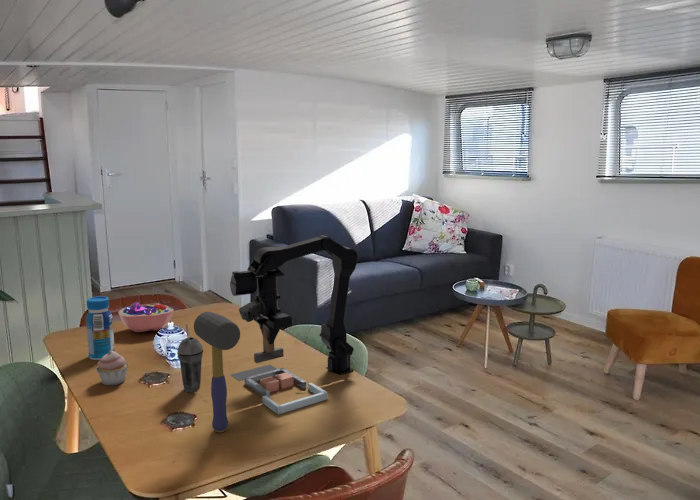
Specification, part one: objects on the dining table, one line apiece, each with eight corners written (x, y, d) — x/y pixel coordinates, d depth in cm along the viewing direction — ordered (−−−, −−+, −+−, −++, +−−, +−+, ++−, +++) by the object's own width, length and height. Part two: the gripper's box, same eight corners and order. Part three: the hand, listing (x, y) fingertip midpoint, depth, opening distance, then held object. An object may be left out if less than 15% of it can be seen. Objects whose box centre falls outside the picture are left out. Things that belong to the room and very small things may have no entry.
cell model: (166, 338, 216) (164, 308, 214) (111, 337, 216) (109, 308, 214) (179, 324, 233) (178, 296, 230) (129, 323, 233) (127, 295, 231)
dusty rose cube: (272, 387, 174) (271, 376, 173) (278, 392, 171) (278, 380, 170) (259, 390, 172) (259, 379, 171) (266, 395, 169) (266, 384, 168)
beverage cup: (209, 385, 174) (207, 321, 171) (195, 395, 168) (192, 328, 164) (188, 382, 177) (185, 318, 173) (174, 392, 170) (170, 325, 166)
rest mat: (270, 366, 190) (270, 364, 190) (279, 372, 185) (279, 370, 185) (230, 376, 182) (230, 374, 181) (238, 382, 177) (238, 380, 177)
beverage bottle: (82, 358, 195) (77, 300, 192) (101, 350, 203) (97, 294, 199) (102, 362, 192) (97, 303, 189) (121, 353, 200) (117, 296, 196)
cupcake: (96, 378, 180) (94, 347, 178) (129, 373, 183) (127, 343, 181) (96, 390, 171) (93, 357, 169) (130, 385, 175) (128, 353, 173)
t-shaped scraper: (280, 354, 178) (279, 319, 176) (284, 357, 176) (283, 321, 174) (253, 361, 173) (252, 325, 171) (257, 363, 171) (256, 327, 169)
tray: (311, 388, 173) (311, 382, 172) (327, 399, 166) (327, 392, 166) (262, 403, 163) (262, 396, 163) (278, 414, 157) (277, 407, 156)
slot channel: (283, 375, 183) (283, 367, 182) (306, 389, 172) (306, 381, 172) (244, 385, 175) (244, 377, 174) (266, 401, 164) (265, 392, 164)
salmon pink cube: (286, 383, 177) (286, 372, 176) (293, 387, 174) (293, 376, 173) (275, 386, 175) (274, 375, 174) (281, 391, 171) (281, 379, 171)
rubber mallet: (195, 425, 150) (190, 312, 145) (222, 417, 155) (218, 307, 149) (218, 445, 141) (213, 324, 135) (246, 435, 146) (242, 318, 140)
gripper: (227, 289, 174) (229, 339, 176) (257, 303, 159) (259, 358, 162) (261, 283, 180) (262, 332, 183) (293, 296, 165) (294, 349, 168)
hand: (268, 342), depth 174 cm, fingers closed on t-shaped scraper, 2 cm apart
